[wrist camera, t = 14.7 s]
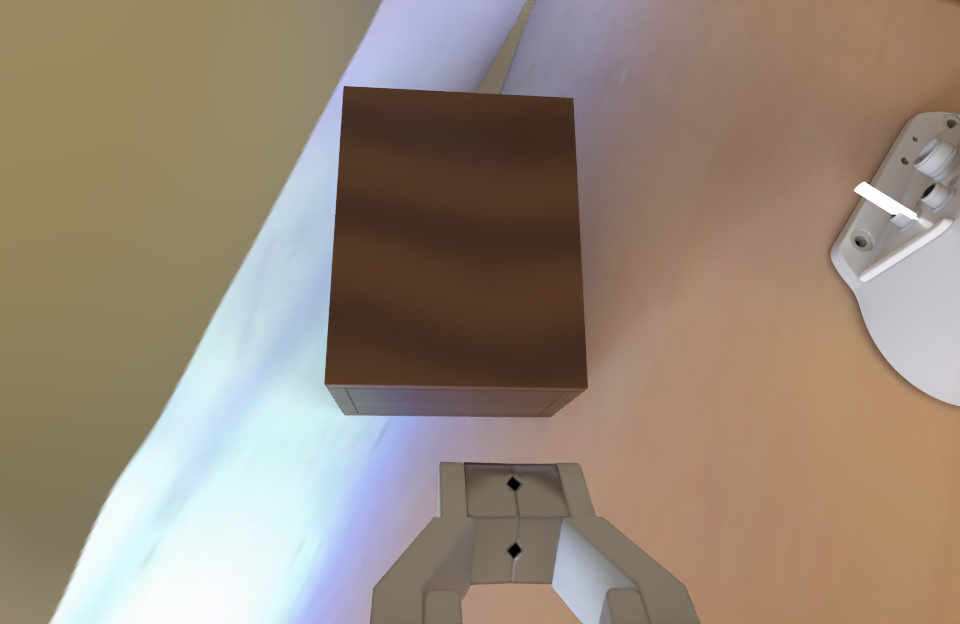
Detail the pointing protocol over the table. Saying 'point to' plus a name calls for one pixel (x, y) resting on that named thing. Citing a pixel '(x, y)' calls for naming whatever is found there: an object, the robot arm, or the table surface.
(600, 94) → the table surface
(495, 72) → the fork
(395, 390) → the box
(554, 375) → the lid
